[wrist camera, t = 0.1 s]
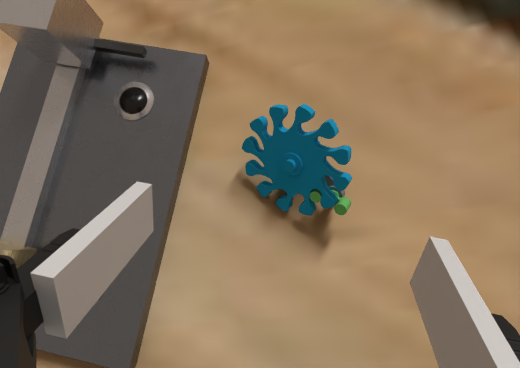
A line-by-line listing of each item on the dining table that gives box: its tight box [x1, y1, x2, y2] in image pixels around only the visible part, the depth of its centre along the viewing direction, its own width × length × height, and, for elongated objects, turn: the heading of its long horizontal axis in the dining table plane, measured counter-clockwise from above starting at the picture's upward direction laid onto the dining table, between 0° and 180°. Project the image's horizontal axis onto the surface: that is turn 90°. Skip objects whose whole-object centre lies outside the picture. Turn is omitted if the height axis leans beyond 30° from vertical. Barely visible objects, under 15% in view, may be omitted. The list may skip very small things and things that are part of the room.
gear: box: [242, 104, 352, 215], centre depth 30 cm, size 11×6×10 cm
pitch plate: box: [0, 38, 209, 368], centre depth 29 cm, size 30×20×8 cm, turn 169°
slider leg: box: [0, 0, 147, 69], centre depth 29 cm, size 5×10×6 cm, turn 79°
